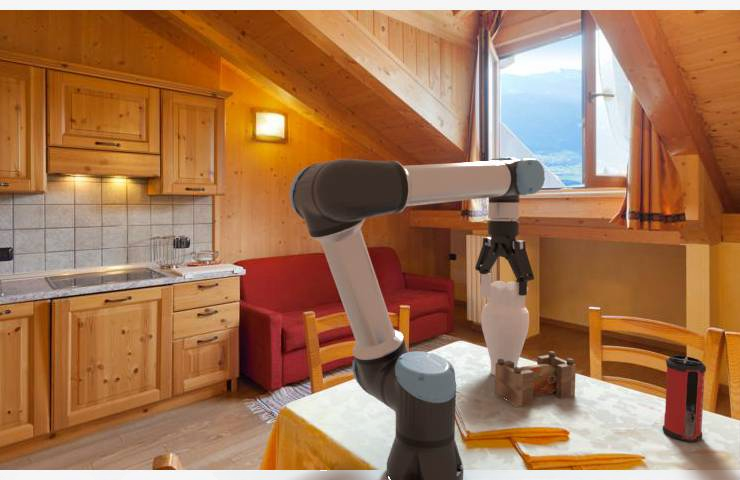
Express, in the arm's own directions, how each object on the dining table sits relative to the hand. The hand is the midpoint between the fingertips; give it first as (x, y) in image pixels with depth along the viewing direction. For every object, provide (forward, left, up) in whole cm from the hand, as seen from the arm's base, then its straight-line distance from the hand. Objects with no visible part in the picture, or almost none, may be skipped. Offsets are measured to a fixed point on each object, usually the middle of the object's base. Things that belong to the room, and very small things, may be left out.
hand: (501, 302), depth 118 cm
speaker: (-26, -32, -29) cm, 50 cm away
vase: (+22, -18, -29) cm, 41 cm away
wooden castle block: (+5, -16, -29) cm, 33 cm away
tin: (+5, -16, -29) cm, 34 cm away
